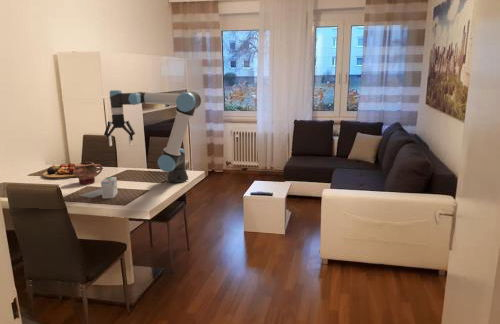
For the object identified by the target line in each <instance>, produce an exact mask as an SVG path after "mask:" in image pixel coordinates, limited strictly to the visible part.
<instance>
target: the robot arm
mask: <svg viewBox="0 0 500 324" xmlns="http://www.w3.org/2000/svg"><path fill="white" fill-rule="evenodd" d="M109 101H110V110H111V121H110V120H109V121H107V125H106V128H105V131H104V133H103V135H104V136H105V137H107V141H108V144H109V147H112V146H113V140H112V133H113V132H114V130H116V129H122V130H124V131H125V132H126V133H127V134H128V141H129V142H128V143H129V147H130V146H132V145H133V142H132V141H133V140H134V137H133V136H134V135H136V132H135V130H134V129H133V127H132V125H131V123H130V121H129V120H127V121H125V116H124V115H125V114H124V106H125V105H126V106H130V105H131V106H132V105H133V106H135V105H139V104H143V105H144V104H147V105H148V104H149V105H167V106H169V105H170V106H176V107H175V113H176V116H175V119H174V122H173V125H172V129H171V133H170V135H169V139H168V141H167V144H166V147H164V148H163V150H162V152H161V155H160V156H159V157H158V160H157V166H158V168H159V169H160V171H162V172H166V173H167V175H166V182H167V183H169V182H170V183H169V184H179V183H178V182H182V183H184V182H183V181H186V180H188V181H189V175H188V173H187V171H186V155H185V154H186V153H185V149H184V148H181V147H182V144H183V140H184V137H185V135H186V130H187V127H188V126H189V122H190V118H192V117H193V116H194V115H195V111H196V109H198V108H199V107H200V106H201V104H202V98H201V96H200V94H199V93H197V92H196V91H185V92H181V93H172V92H171V93H170V92H169V93H167V92H165V93H164V92H145V91H144V92H143V91H138V92H122V90H121V89H120V90H119V89H116V90H114V89H112V90H110V91H109ZM111 126H112V127H111ZM110 128H111V129H110ZM186 182H187V181H186Z"/></svg>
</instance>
